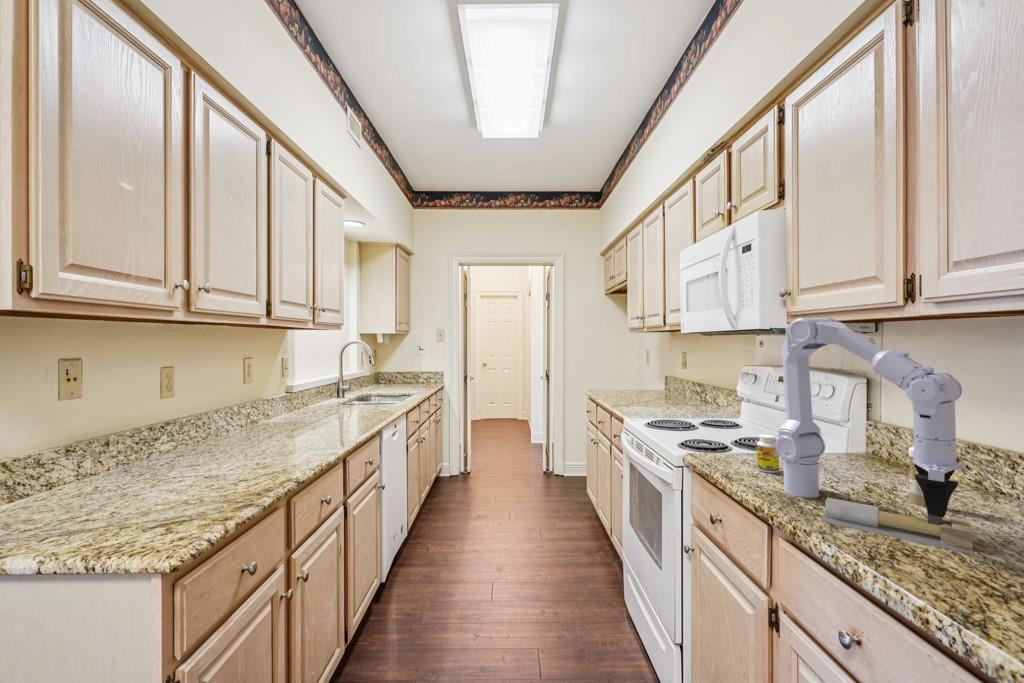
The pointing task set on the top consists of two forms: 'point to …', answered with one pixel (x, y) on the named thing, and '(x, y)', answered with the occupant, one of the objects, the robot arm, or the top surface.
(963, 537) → the socket block
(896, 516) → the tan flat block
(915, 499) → the sprinkles bottle
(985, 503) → the top surface
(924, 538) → the base board
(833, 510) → the outer sleeve
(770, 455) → the supplement bottle
